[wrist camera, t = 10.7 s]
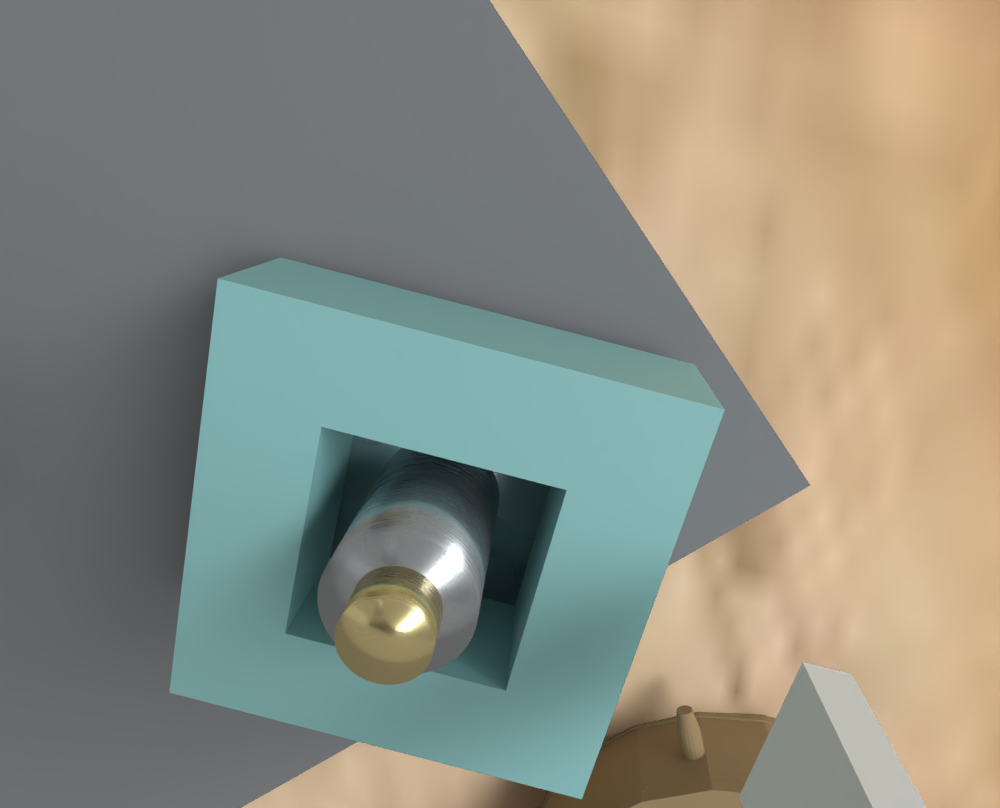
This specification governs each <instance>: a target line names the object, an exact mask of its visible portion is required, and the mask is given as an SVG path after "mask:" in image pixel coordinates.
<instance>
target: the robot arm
mask: <svg viewBox="0 0 1000 808" xmlns="http://www.w3.org/2000/svg"><path fill="white" fill-rule="evenodd" d="M739 796H740V799H741V803H742V806H743V808H926V806H925V804H924V802H923V800H922V799H921V797H920V795H919V793H918V792H917V790H916V788H915V786H914V784H913V783H912V781H911V779H910V777H909V776H908V774H907V772H906V770H905V768H904V767H903V765H902V763H901V761H900V760H899V758H898V756H897V754H896V752H895V751H894V749H893V747H892V745H891V744H890V742H889V740H888V738H887V736H886V735H885V733H884V731H883V729H882V728H881V726H880V724H879V722H878V720H877V719H876V717H875V715H874V713H873V712H872V710H871V708H870V706H869V704H868V703H867V701H866V699H865V697H864V696H863V694H862V692H861V690H860V688H859V687H858V685H857V683H856V681H855V680H854V678H853V676H852V674H848V673H844V672H840V671H836V670H832V669H828V668H824V667H820V666H816V665H812V664H808V663H804V662H803V663H802V665H801V667H800V669H799V671H798V673H797V675H796V677H795V680H794V682H793V684H792V686H791V688H790V690H789V692H788V694H787V696H786V698H785V701H784V703H783V705H782V707H781V709H780V711H779V713H778V715H777V717H776V720H775V722H774V724H773V726H772V728H771V730H770V732H769V734H768V736H767V738H766V741H765V743H764V745H763V747H762V749H761V751H760V753H759V755H758V757H757V760H756V762H755V764H754V766H753V768H752V770H751V772H750V774H749V776H748V778H747V781H746V783H745V785H744V787H743V789H742V791H741V793H740V795H739Z"/></svg>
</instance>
